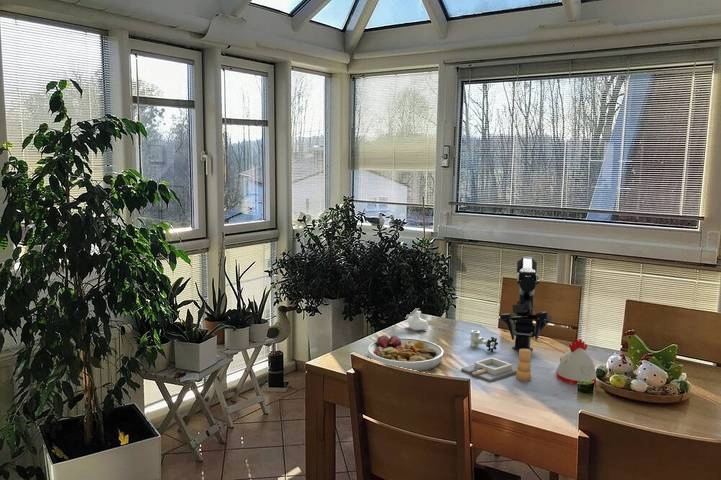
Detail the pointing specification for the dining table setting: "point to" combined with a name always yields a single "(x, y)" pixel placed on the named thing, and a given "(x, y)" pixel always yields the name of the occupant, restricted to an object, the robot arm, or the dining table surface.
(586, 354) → the kitchen timer
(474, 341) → the valve
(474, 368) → the plate
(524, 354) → the tan ribbed cylinder
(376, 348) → the bowl
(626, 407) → the dining table surface
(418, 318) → the duck figurine
